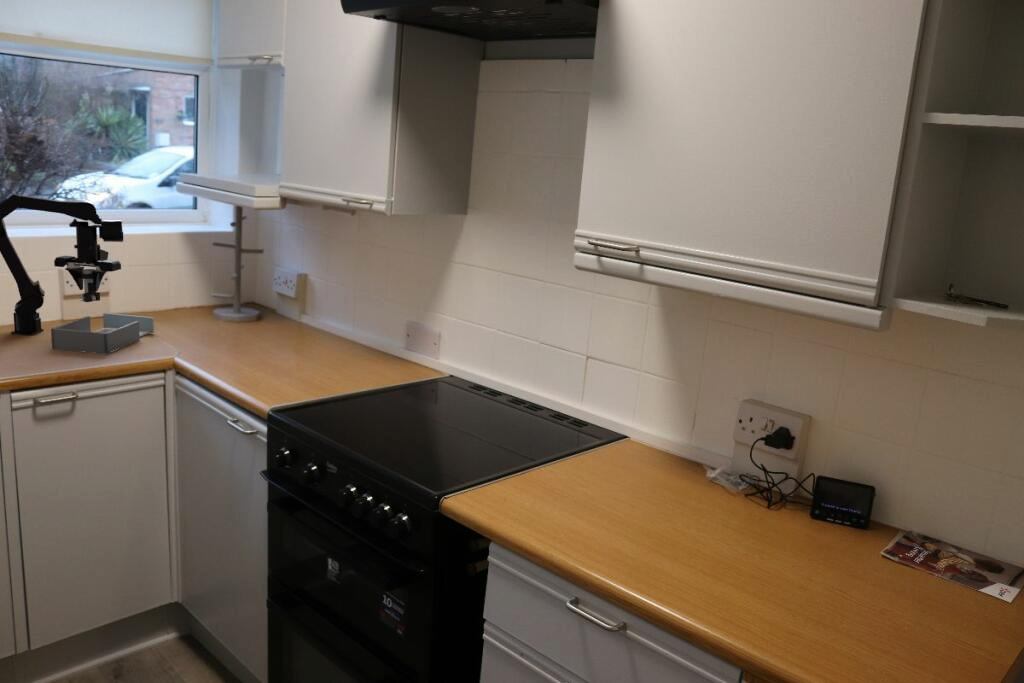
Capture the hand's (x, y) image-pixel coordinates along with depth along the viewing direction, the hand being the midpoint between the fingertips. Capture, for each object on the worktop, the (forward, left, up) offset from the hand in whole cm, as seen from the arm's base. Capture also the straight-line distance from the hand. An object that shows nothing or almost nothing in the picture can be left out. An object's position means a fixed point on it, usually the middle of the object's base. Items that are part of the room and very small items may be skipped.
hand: (88, 290), depth 256 cm
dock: (+11, -15, -13) cm, 22 cm away
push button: (0, 0, -4) cm, 4 cm away
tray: (+11, -5, -13) cm, 18 cm away
